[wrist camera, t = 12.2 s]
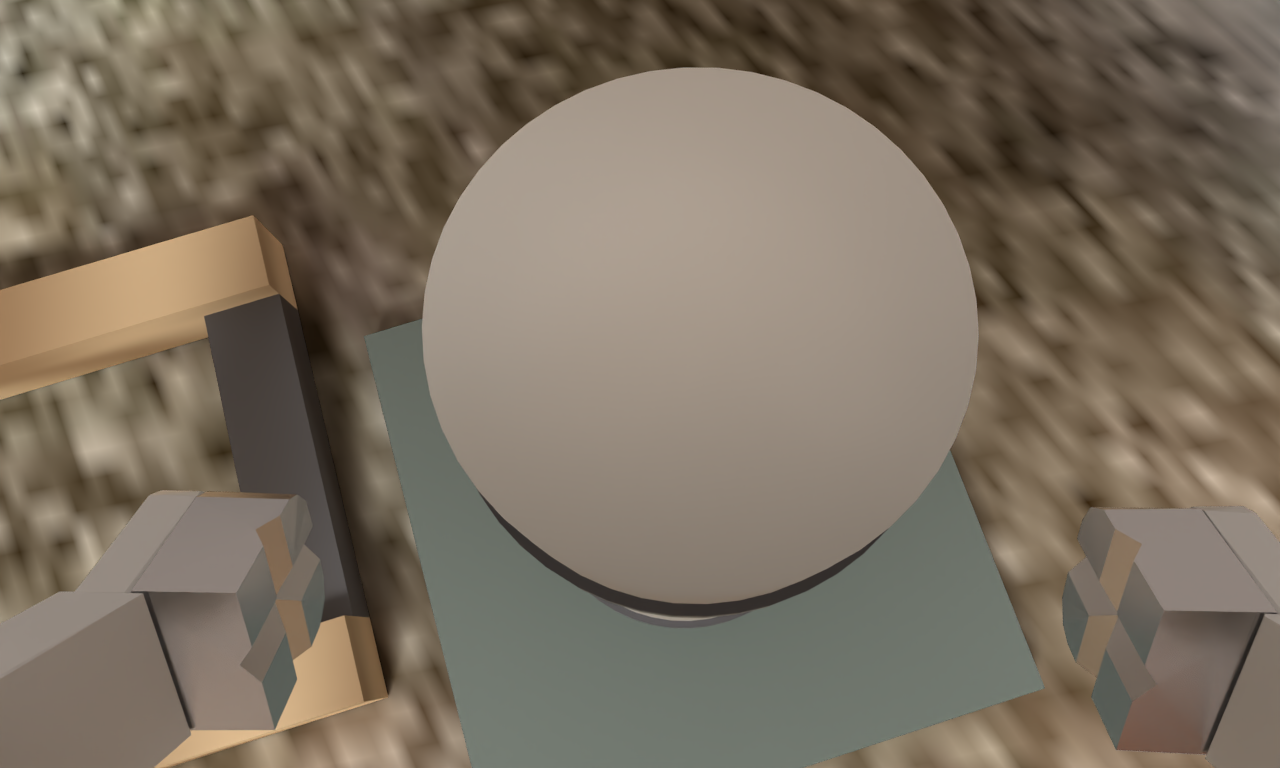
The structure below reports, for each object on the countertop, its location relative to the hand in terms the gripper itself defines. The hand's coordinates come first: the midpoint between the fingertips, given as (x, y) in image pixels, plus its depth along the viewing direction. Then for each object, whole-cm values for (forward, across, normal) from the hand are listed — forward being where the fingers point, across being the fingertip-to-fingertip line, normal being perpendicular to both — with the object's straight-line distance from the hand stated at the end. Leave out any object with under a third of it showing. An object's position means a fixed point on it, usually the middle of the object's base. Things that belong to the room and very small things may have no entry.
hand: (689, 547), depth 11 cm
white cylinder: (+7, 0, +4) cm, 8 cm away
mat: (+7, 0, +5) cm, 9 cm away
